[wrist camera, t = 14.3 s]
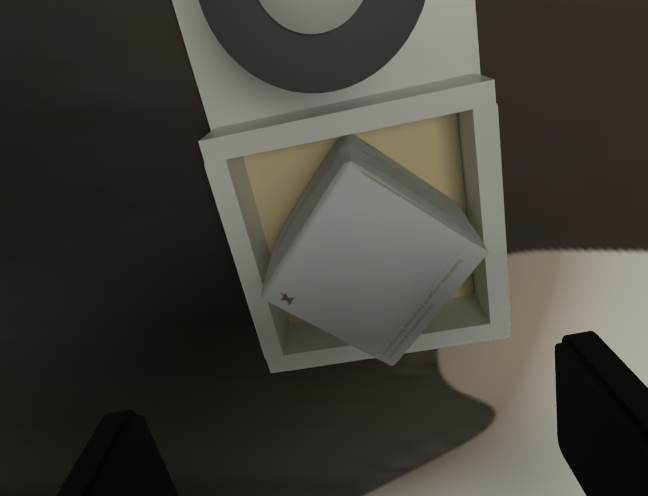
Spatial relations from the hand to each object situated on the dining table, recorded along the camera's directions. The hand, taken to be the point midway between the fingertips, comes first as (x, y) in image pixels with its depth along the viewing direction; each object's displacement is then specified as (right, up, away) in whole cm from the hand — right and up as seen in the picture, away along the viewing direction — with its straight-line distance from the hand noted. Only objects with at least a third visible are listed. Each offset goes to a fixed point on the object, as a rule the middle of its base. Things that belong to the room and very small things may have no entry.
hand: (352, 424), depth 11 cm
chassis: (0, +9, +9) cm, 13 cm away
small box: (+1, +5, +10) cm, 11 cm away
